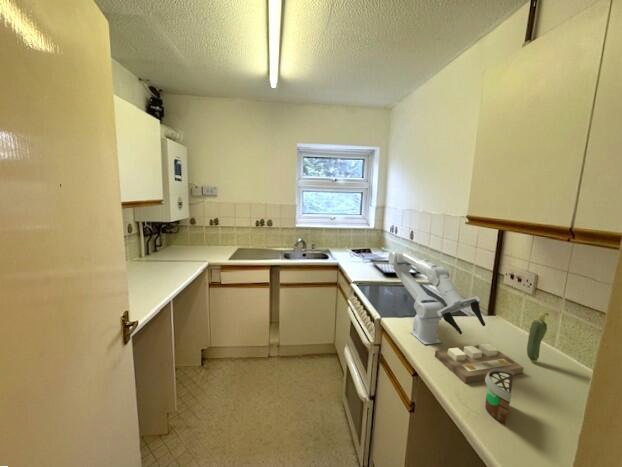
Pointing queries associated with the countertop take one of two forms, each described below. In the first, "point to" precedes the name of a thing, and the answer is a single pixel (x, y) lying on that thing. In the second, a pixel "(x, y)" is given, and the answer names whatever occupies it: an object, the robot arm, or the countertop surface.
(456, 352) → the near button
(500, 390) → the food container
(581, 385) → the countertop surface
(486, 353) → the far button
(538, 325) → the vegetable
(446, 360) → the button board
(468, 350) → the middle button
